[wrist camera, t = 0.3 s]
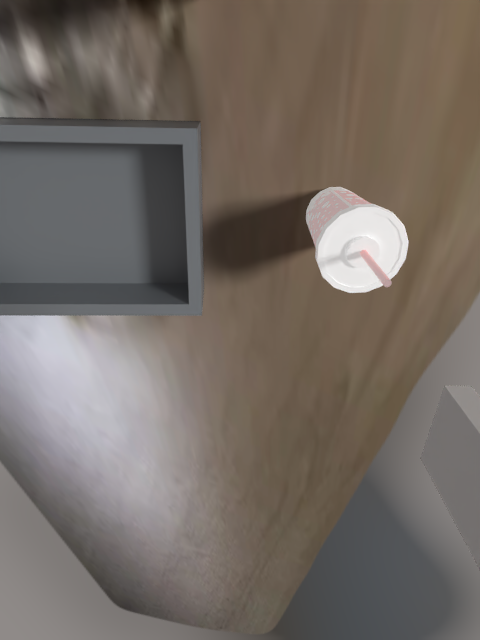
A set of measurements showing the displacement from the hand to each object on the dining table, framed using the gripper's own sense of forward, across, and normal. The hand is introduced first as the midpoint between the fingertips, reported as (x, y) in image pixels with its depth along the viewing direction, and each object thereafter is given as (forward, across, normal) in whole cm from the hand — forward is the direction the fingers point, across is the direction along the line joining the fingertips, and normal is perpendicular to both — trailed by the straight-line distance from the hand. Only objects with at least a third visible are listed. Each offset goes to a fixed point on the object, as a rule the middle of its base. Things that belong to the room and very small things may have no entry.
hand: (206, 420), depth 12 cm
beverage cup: (+27, +10, -1) cm, 29 cm away
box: (+27, -11, -2) cm, 29 cm away
